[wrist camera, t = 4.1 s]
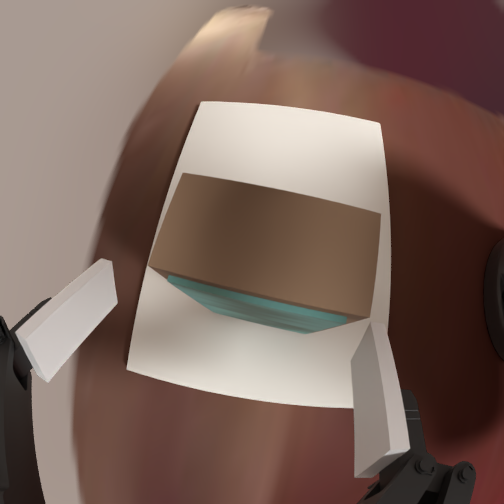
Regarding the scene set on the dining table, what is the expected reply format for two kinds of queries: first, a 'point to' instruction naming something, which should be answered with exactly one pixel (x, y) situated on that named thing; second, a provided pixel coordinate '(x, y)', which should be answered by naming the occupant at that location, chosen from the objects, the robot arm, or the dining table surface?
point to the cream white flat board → (248, 333)
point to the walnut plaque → (269, 254)
